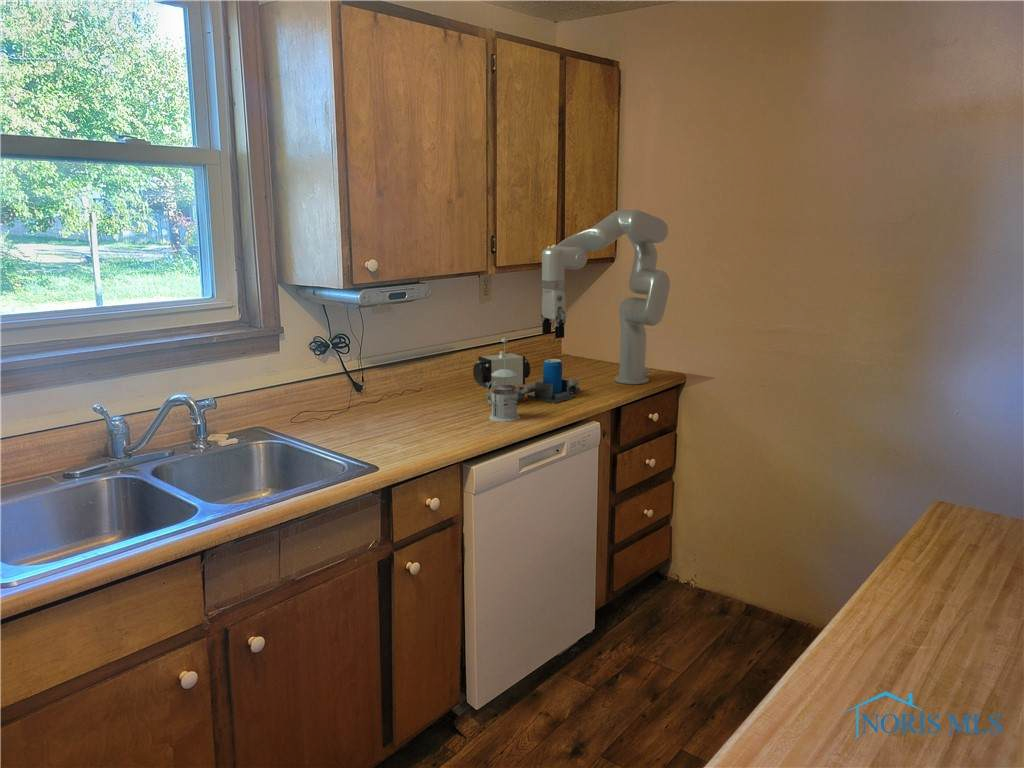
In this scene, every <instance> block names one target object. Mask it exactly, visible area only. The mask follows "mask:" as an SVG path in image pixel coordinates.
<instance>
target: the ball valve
mask: <svg viewBox="0 0 1024 768" xmlns="http://www.w3.org/2000/svg"><path fill="white" fill-rule="evenodd" d="M501 369H504V350H501V351H499V354H492V355H491V354H490V355H484V356H483V355H482V356H478V361H477V362H476V363H475V364H474V365H473V368H472V373H473V379H474V381H475V383H477V384H478V385H479V386H480V387H483V388H485V389H487V387H488V385H489V383H490V382H491V381H492V380H493V381H494V384H495V385H493V381H492V382H491V383H490V385H489V387H488V390H491V387H492V385H493V387H494V386H496V385H504V378H495V377H492V375H491V374H492V373H494V372H495V371H497V370H501ZM505 369H509V370H512V371H514V372H516V373H517V374H518V375H517V376H516V377H513V378H505V385H513V386H515V387H517V386H526V381H527V378H529V377H530V375H531V364H530V361H529V360H528V359H527V357H526V356H525V355H522V354H519V353H515V352H512V353H505ZM496 381H497V382H498V384H497V382H496ZM495 382H496V383H495ZM493 387H492V390H491V398H492V391H494V389H493ZM487 395H488V399H489V401H490V402H491V403H490V402H489V401H488V399H487V398H486V400H487V403H488V404H489V405H492V401H491V398H490V392H487ZM495 396H496V394H495ZM495 400H496V398H495ZM505 401H508V400H504V402H505ZM495 404H496V402H495Z"/></svg>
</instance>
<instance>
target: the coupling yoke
mask: <svg viewBox="0 0 1024 768" xmlns="http://www.w3.org/2000/svg"><path fill="white" fill-rule="evenodd" d="M578 385H579V380H578V379H576V378H572V379H568V378H567V379H565V378H562V392H560V393H556V394H554V396H553V384H551V383H546V382H543V381H540V380H535V382H534V384H533V383H532V384H528V385H527V384H525V385H521V386H519V387H516V389H515V391H517V399H516V400H517V402H519V401H520V402H521V401H522V402H524V401H523V400H525V401H526V398H527V399H532V400H535V399H536V400H537V401H540V400H541V401H540V402H544V401H546V402H545V403H549V402H551V403H550V404H553V403H555V404H557V403H556V402H558V403H561V402H560V401H562V402H564V401H563V400H566V401H568V400H567V399H569V400H571V399H570V398H573V399H575V398H574V397H576V398H577V394H579V393H578V392H581V388H580V387H578ZM570 392H573V393H570ZM575 393H576V394H575ZM526 396H527V397H526ZM536 400H535V401H536Z"/></svg>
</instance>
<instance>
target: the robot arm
mask: <svg viewBox="0 0 1024 768" xmlns="http://www.w3.org/2000/svg"><path fill="white" fill-rule="evenodd" d="M624 235H626V237H627V238H628V240H629V241H630V243H631V245H632V248H633V255H634V256H633V260H632V261H633V262H632V266H631V270H630V275H629V279H628V288H629V290H630V292H632V293H634V294H637V295H645V296H646V297H645V298H644V297H637V296H636V297H635V296H631V297H626V298H624V299H623V300H622V301H620V303H619V306H618V318H619V323H620V340H619V341H620V344H619V345H620V346H619V370H618V371H619V373H618V374H619V375H617V376H615V377H614V380H615V382H617V383H620V384H624V385H625V384H626V385H642V384H647V383H649V381H650V379H649V377H647V376H646V374H649V373H651V369H650V368H649V367H647V368H646V349H647V332H646V328H645V326H649V327H650V326H651V327H652V326H653V327H654V326H657V325H659V324H660V322H661V321H662V320H663V318H664V315H665V310H666V307H667V301H668V299H669V298H668V297H669V292H670V287H671V279H670V277H669V274H667V272H665V271H664V270H662V269H656V268H657V263H658V251H657V248H656V246H655V244H659V243H663V242H664V241H665V240H666V238H668V235H669V227H668V224H667V223H666V221H665V220H663V219H662V218H660V217H657V216H655V215H653V214H650V213H647V212H645V211H642V210H640V209H639V210H638V209H617V210H616V211H613V212H611V213H610V214H609V215H608V216H606V217H604V218H603V219H602V220H601V221H599V222H597V223H596V224H595V225H593V226H591V227H590V228H587V229H584V230H582V231H579V232H578V233H575V234H573V235H571V236H569V237H567V238H565V239H563V240H562V241H560V242H559V243H558V244H556V245H555V246H554V247H553V248H544V249H543V250H542V252H541V290H542V295H541V296H542V297H541V298H542V299H541V307H540V314H541V315H540V317H541V323H542V324H541V327H542V329H541V331H542V333H541V334H542V335H548V334H549V335H550V334H552V321H554V323H555V326H554V338H555V339H563V338H565V326H566V319H567V303H566V302H567V300H566V293H565V270H572V271H573V270H580V269H582V268H584V267H585V266H586V264H587V262H588V255H587V253H591V252H596V251H597V252H598V251H600V250H603V249H606V248H607V247H608V246H610V245H611V244H613V243H614V242H615V241H617V240H618V239H619V238H621V237H622V236H624ZM551 320H552V321H551Z"/></svg>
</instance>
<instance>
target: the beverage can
mask: <svg viewBox="0 0 1024 768" xmlns="http://www.w3.org/2000/svg"><path fill="white" fill-rule="evenodd" d="M542 366H543V367H542V382H546V383H551V384H553V396H554V394H556V393H560V392H562V379H563V363H562V360H561V359H557V358H547V359H544V362H543V364H542Z"/></svg>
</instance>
